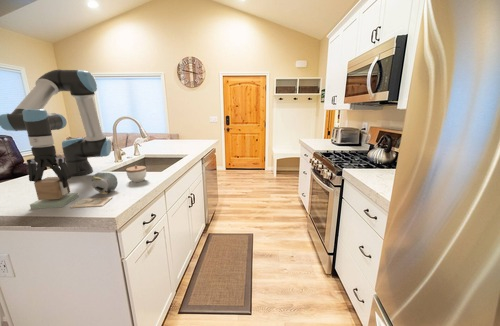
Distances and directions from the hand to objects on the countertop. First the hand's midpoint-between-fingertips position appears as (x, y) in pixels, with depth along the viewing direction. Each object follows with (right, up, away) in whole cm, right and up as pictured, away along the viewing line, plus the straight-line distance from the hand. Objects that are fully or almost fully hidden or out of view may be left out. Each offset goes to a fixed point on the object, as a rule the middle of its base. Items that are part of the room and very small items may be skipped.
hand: (54, 194), depth 99 cm
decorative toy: (+16, -1, +12) cm, 20 cm away
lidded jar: (+22, +4, +31) cm, 38 cm away
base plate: (0, -4, +1) cm, 4 cm away
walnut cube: (0, -1, 0) cm, 1 cm away
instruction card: (+17, -4, 0) cm, 18 cm away
